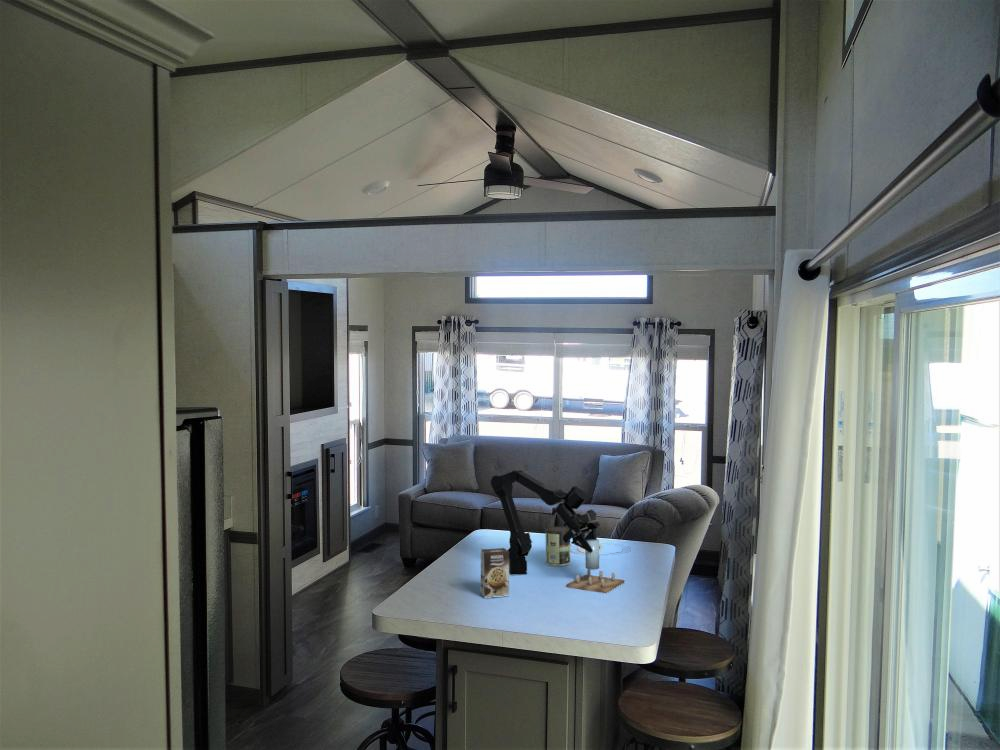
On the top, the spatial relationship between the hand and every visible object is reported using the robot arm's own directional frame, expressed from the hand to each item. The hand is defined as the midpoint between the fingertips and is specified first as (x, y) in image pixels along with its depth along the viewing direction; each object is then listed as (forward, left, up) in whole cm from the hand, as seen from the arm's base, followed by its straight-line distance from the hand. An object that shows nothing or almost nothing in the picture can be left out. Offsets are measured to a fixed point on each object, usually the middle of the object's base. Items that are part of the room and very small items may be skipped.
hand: (595, 550), depth 292 cm
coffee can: (-3, +38, -14) cm, 40 cm away
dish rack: (+1, +3, -13) cm, 14 cm away
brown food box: (-38, -1, -14) cm, 40 cm away
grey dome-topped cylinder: (-1, +1, -7) cm, 7 cm away
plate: (+22, +57, -14) cm, 62 cm away
